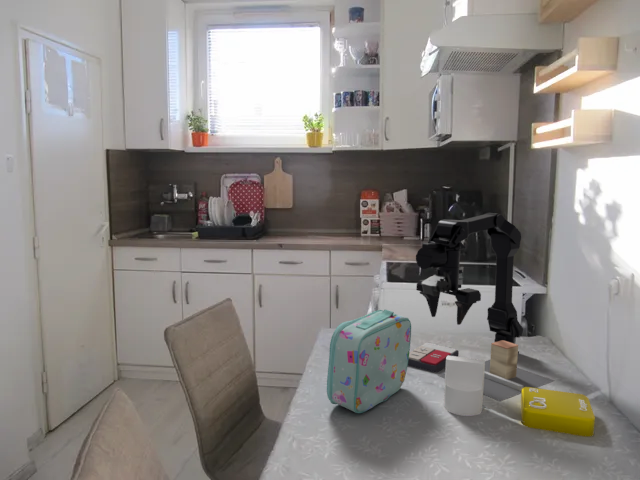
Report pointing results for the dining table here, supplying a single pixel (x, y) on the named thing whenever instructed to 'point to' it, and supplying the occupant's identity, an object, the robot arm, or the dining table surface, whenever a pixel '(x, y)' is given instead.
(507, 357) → the beech block
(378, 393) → the lunch box
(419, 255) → the robot arm
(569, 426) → the element tile
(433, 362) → the calculator
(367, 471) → the dining table surface
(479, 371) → the cylinder with rectangular tab
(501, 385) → the mat
